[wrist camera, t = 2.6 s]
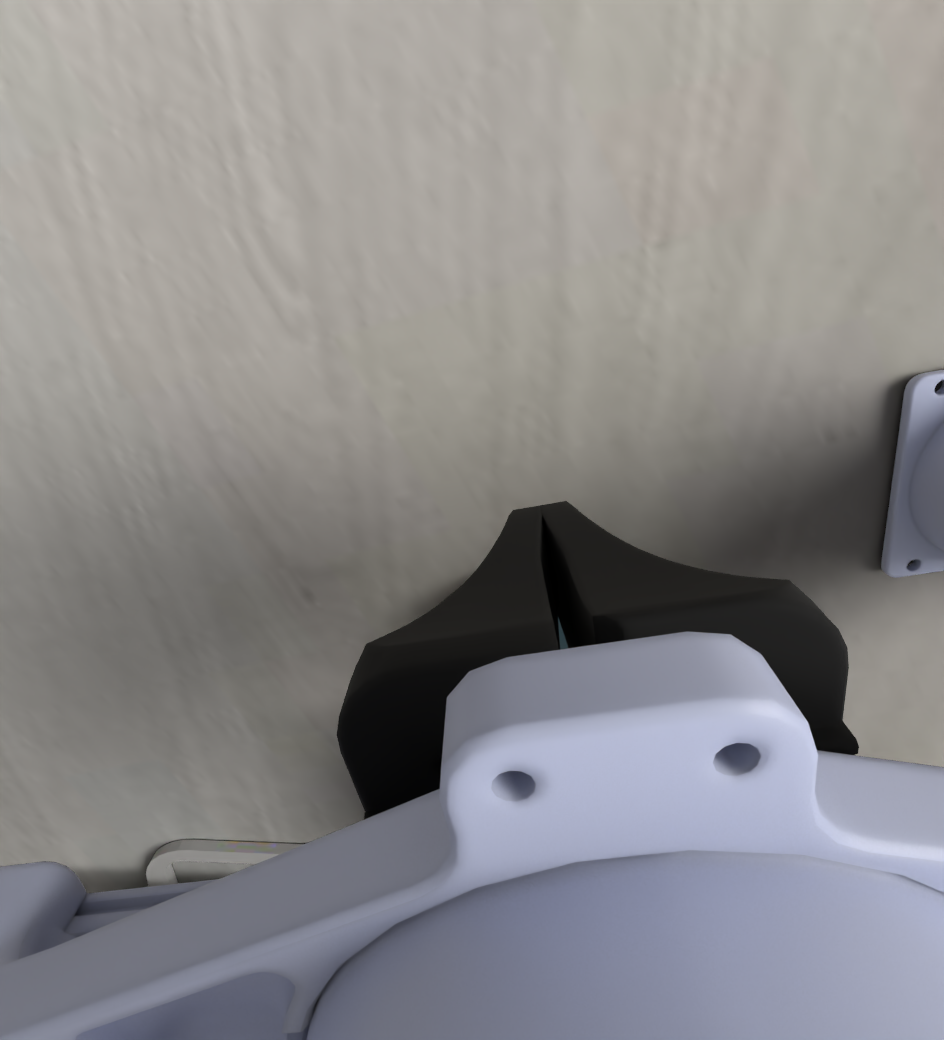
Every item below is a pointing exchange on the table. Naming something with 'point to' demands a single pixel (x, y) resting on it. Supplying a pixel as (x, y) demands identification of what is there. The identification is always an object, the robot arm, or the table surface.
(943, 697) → the table surface
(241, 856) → the network device
